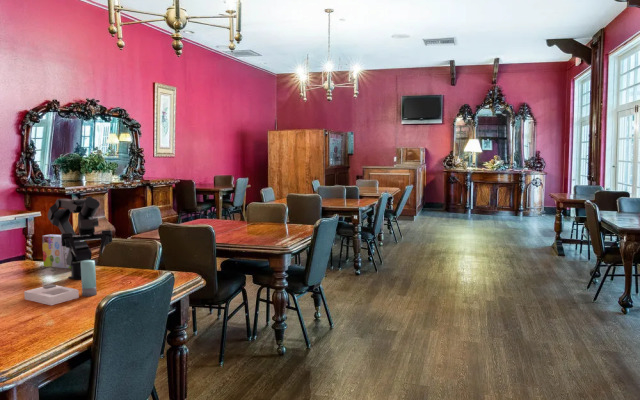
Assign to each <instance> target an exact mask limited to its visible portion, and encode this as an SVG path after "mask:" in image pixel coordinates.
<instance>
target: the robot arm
mask: <svg viewBox="0 0 640 400" xmlns="http://www.w3.org/2000/svg"><path fill="white" fill-rule="evenodd" d="M100 205H101V203H100V201H98V199H96V198H93V197H92V196H91V195H89V196H86V198H81V199H80V198H79V199H72V198H71V199H70V198H58V199H56V200H55V202H54V204H52V205H51V206H50V207H49V209H48V211H47V218H48V219H47V220H48V221H50V223H51V224H52V225H53V226H55V227H57V228H58V229H59V230H60V233H61V234H60V235H61V240H62V246H63V247H64V246H66V248H69V253H68V256H67V258H66V263H67V265H70V266H71V269H70V271H71V275H70V276H68V277H67V279H71V280H72V279H73V280H77V281H78V280H81V261H84V260H92V256H93V252H92V249H91V248H90V246H89V245H88V243H87V241H95V240H96V241H98V240H100V255H102V254H103V253H104V250H105V248H106V246H107V245H109V244H111V243H113V231H112V230H111V229H104V230H101V233H96V229H95V228H97V227H99V225H100V223H99V218H98V217H95V216H96V214H97V212H98V211H99V207H100ZM71 214H77V225H78V234H79V235H78V234H77V233H76V232H75V230H74V228H73V226H72V224H71V222H70V221H69V220H70V217H71ZM95 233H96V234H95ZM80 240H85V241H81V242H80Z"/></svg>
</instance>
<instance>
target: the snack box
mask: <svg viewBox="0 0 640 400" xmlns="http://www.w3.org/2000/svg"><path fill="white" fill-rule="evenodd" d="M41 236H42V237H41V239H42V240H41V241H42V242H41V243H42V259H43V261H42V262H43V263H42V264H43V267H45V268H47V267H48V268H57V269H58V268H59V269H69V270H71V266H70V265H67V263H66V258H67V256H68V253H69V248H66V246H64V247H63V246H62V240H61V234H53V233H52V234H51V233H50V234H45V235H41ZM81 241H85V242H86V240H80V242H81Z"/></svg>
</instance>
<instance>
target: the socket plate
mask: <svg viewBox="0 0 640 400" xmlns="http://www.w3.org/2000/svg"><path fill="white" fill-rule="evenodd" d="M23 292H24V294H23V295H24V300H26V301H31V302H36V303H39V304H43V305H48V306H54V305H57V304H58V305H59V304H60V303H64V302H69V301H72V300H76V299H80V296H79V295H80V293H79V289H76V288H72V287H67V286H61V285H56V284H47V285H43V286H41V287H37V288H32V289H28V290H24V291H23Z"/></svg>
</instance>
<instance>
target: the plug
mask: <svg viewBox="0 0 640 400" xmlns="http://www.w3.org/2000/svg"><path fill="white" fill-rule="evenodd" d="M96 275H97V274H96V260H94V259H91V260H84V261H81V279H80V280H81V296H82V297H87V298H88V297H94V296H96V295H97V292H98V291H97V276H96Z"/></svg>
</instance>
